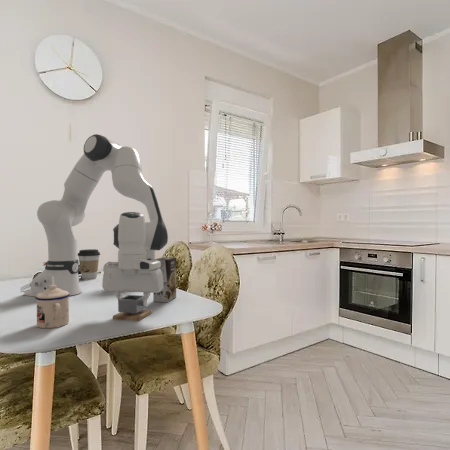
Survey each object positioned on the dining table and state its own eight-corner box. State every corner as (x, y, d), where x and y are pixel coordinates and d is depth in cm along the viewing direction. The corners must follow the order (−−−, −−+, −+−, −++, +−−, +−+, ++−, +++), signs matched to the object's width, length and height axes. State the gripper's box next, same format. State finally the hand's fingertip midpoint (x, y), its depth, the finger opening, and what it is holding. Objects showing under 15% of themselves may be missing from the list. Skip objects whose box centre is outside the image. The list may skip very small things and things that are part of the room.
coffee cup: (73, 280, 177) (72, 250, 177) (85, 276, 189) (85, 249, 188) (93, 280, 176) (93, 251, 175) (104, 276, 187) (104, 249, 187)
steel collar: (118, 311, 109) (118, 299, 109) (128, 306, 115) (128, 294, 115) (136, 313, 108) (136, 300, 108) (146, 307, 114) (145, 295, 114)
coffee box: (168, 302, 130) (168, 259, 129) (152, 301, 131) (152, 259, 131) (177, 297, 139) (176, 257, 138) (161, 296, 140) (161, 256, 140)
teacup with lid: (33, 323, 104) (33, 284, 104) (65, 318, 110) (65, 281, 109) (40, 333, 95) (40, 291, 94) (75, 327, 100) (75, 287, 100)
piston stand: (112, 319, 108) (112, 303, 108) (127, 311, 117) (127, 296, 117) (139, 320, 106) (138, 304, 106) (151, 313, 115) (151, 298, 115)
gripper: (98, 262, 111) (98, 305, 111) (157, 264, 106) (157, 309, 106) (109, 260, 117) (109, 300, 117) (165, 262, 112) (165, 304, 112)
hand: (132, 305), depth 112 cm, fingers closed on steel collar, 6 cm apart
